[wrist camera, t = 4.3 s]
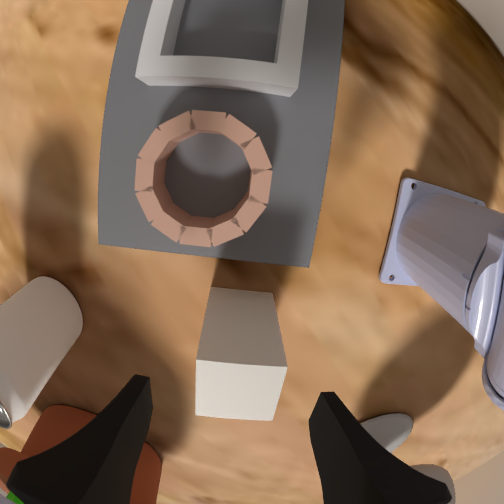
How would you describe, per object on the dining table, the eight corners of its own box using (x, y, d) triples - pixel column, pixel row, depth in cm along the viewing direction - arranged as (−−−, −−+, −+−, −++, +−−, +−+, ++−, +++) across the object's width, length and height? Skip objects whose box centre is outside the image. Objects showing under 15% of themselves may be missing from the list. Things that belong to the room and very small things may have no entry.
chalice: (294, 465, 30) (309, 564, 16) (359, 400, 26) (407, 523, 11) (373, 467, 32) (399, 544, 18) (437, 408, 28) (485, 492, 14)
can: (77, 350, 23) (19, 445, 11) (25, 313, 21) (-46, 390, 10) (93, 300, 21) (13, 404, 10) (34, 260, 20) (-61, 334, 8)
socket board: (339, -6, 14) (357, -32, 10) (304, 259, 20) (317, 284, 16) (145, -22, 13) (129, -47, 9) (107, 237, 19) (81, 257, 15)
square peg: (272, 292, 21) (287, 367, 14) (263, 341, 22) (272, 420, 15) (210, 286, 21) (196, 359, 13) (207, 336, 22) (195, 415, 15)
